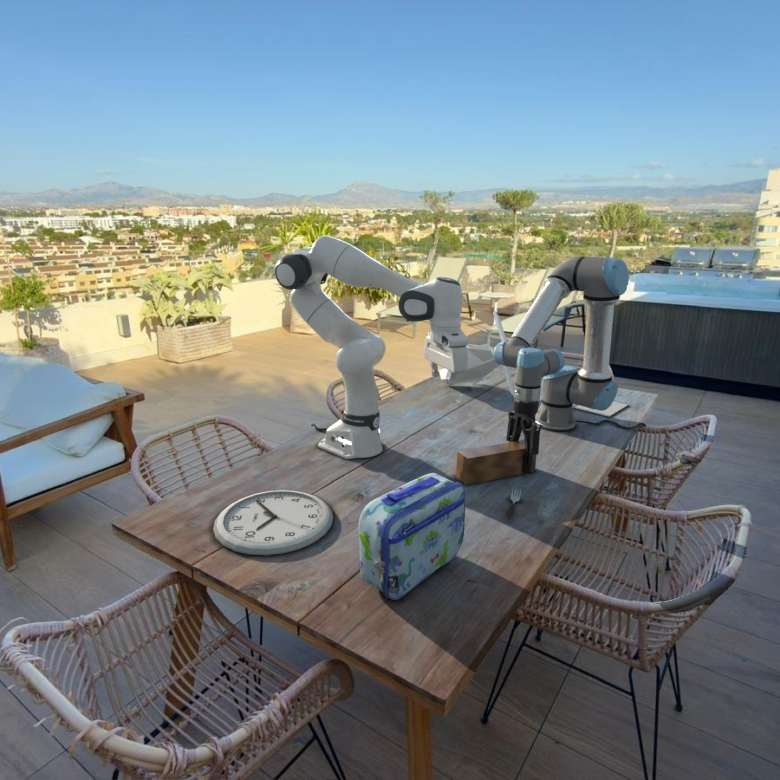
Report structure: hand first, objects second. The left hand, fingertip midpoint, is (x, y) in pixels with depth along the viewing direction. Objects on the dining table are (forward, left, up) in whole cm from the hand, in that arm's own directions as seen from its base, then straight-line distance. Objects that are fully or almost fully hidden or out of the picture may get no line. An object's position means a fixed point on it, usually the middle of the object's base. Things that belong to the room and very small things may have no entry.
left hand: (442, 380), depth 156 cm
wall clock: (-23, -50, -30) cm, 62 cm away
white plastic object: (-19, +84, -30) cm, 91 cm away
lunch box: (+18, -49, -30) cm, 60 cm away
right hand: (+22, +14, -29) cm, 39 cm away
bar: (+17, +7, -30) cm, 35 cm away
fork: (+28, -10, -30) cm, 42 cm away
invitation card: (+33, +94, -30) cm, 104 cm away
